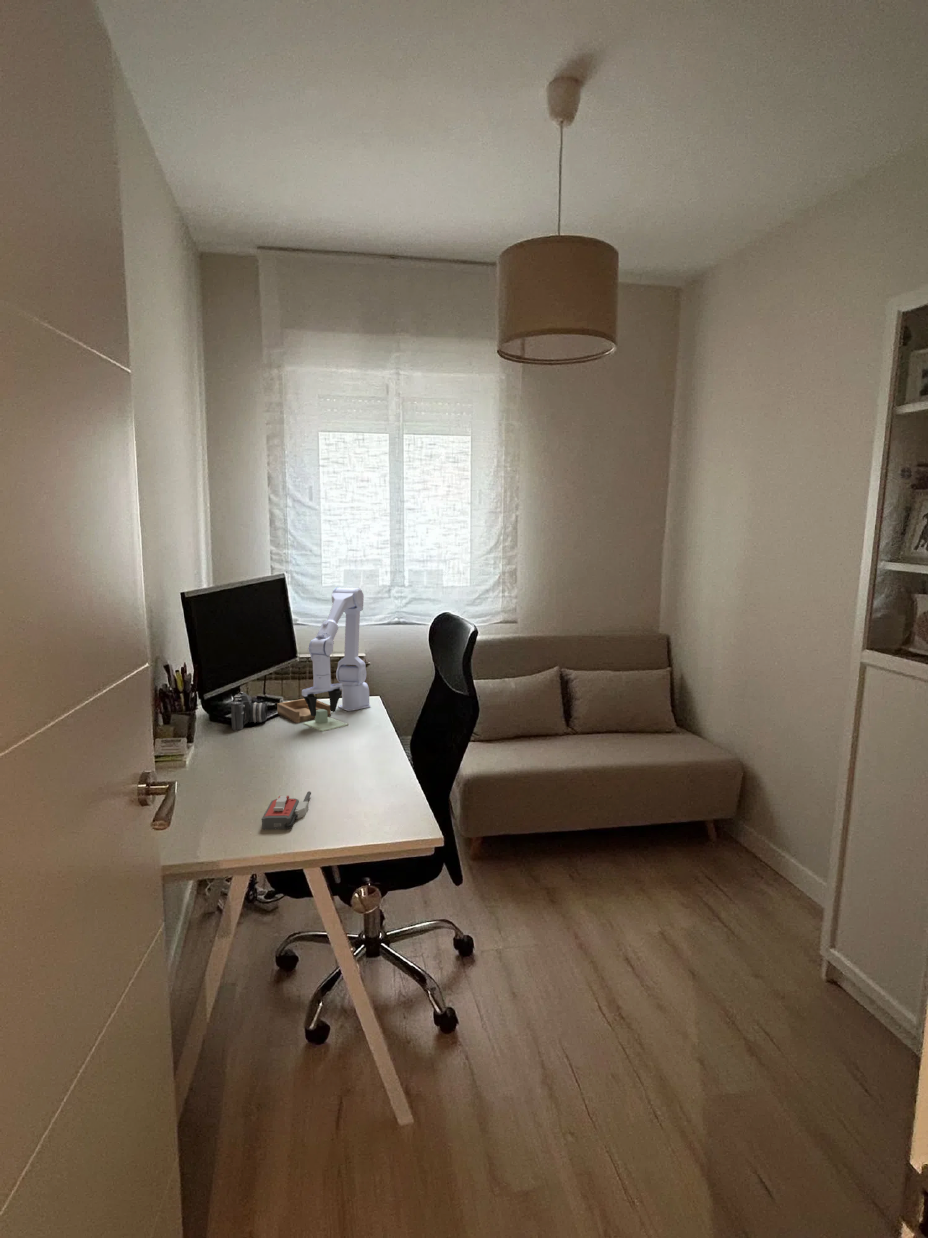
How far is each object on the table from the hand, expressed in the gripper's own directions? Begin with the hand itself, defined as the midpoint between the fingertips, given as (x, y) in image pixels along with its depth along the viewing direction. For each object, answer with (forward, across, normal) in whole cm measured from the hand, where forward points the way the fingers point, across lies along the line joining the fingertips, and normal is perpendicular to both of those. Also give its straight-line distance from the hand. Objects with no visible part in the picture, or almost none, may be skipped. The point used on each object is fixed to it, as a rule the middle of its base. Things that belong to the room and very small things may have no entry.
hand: (323, 713), depth 241 cm
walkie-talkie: (+4, +45, +58) cm, 74 cm away
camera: (+4, +18, -18) cm, 25 cm away
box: (+4, -1, -14) cm, 15 cm away
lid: (+4, 0, +1) cm, 4 cm away
